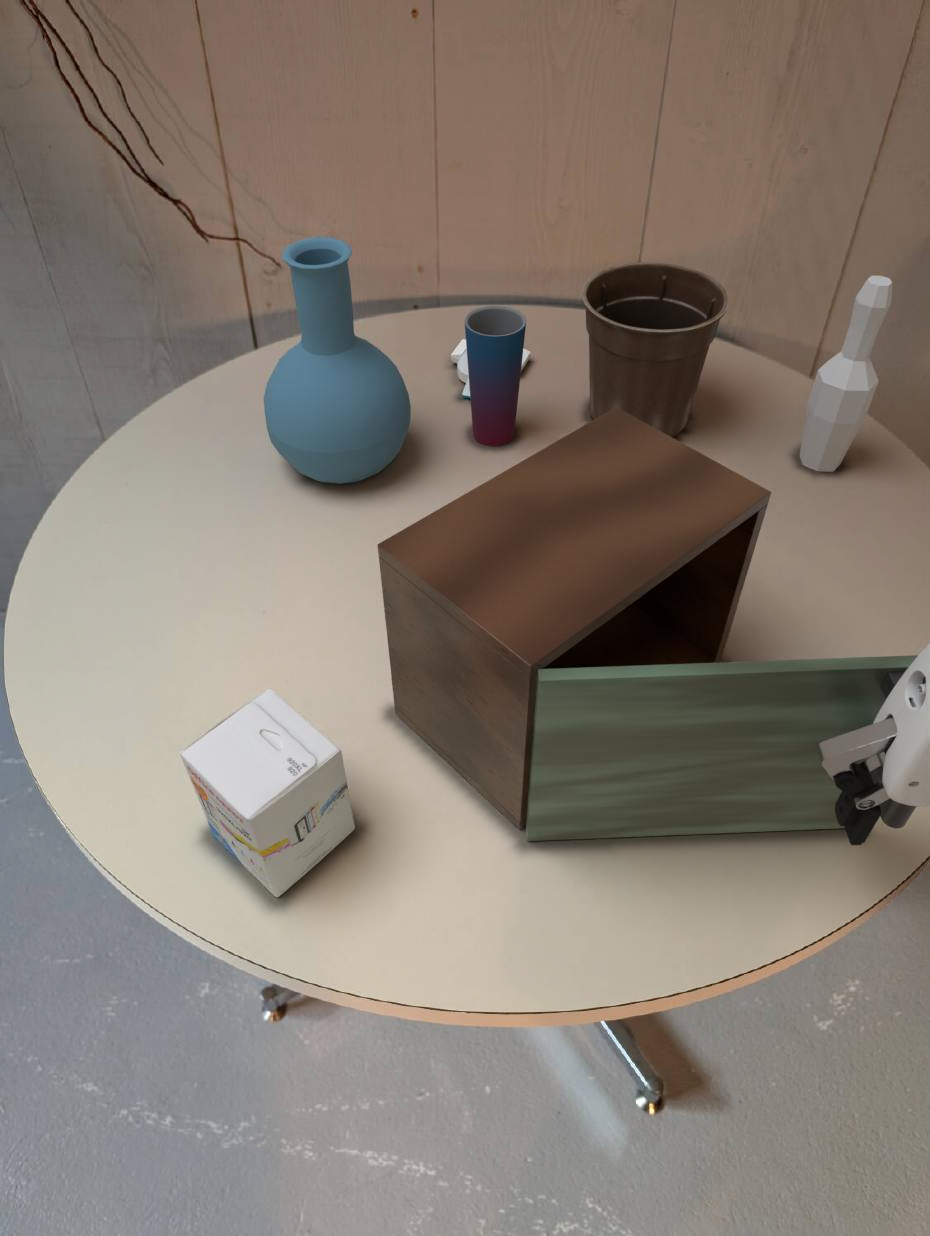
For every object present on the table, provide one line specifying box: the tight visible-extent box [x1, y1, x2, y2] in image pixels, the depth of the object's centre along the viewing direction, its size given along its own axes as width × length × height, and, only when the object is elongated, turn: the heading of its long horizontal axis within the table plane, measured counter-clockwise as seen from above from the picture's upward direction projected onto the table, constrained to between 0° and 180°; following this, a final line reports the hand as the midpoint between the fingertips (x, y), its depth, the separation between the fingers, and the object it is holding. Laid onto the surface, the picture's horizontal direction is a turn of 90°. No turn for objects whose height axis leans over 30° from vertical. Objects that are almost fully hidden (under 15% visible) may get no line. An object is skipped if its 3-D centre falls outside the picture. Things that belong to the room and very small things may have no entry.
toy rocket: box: [450, 338, 531, 399], centre depth 120 cm, size 16×10×2 cm, turn 159°
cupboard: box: [377, 407, 772, 831], centre depth 76 cm, size 16×26×20 cm, turn 132°
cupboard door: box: [525, 654, 919, 842], centre depth 63 cm, size 8×26×20 cm, turn 92°
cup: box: [464, 305, 527, 447], centre depth 105 cm, size 7×7×15 cm
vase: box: [263, 236, 412, 485], centre depth 99 cm, size 16×16×25 cm
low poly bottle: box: [799, 275, 893, 473], centre depth 99 cm, size 6×6×22 cm
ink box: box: [179, 687, 356, 898], centre depth 69 cm, size 9×8×12 cm
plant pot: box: [581, 261, 730, 438], centre depth 107 cm, size 16×16×16 cm
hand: (917, 824), depth 58 cm, fingers open, 8 cm apart
